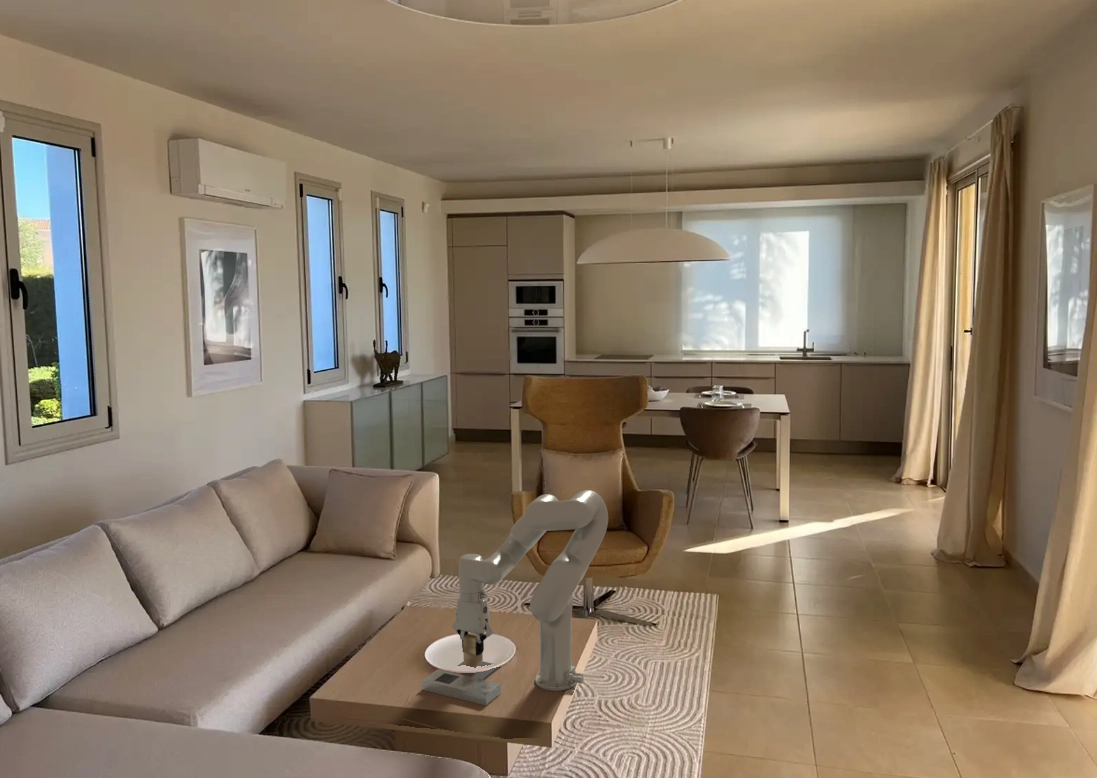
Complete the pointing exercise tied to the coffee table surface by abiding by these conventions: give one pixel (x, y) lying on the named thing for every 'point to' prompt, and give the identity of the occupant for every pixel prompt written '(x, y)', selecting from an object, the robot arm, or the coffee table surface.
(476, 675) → the charcoal mat
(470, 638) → the birch peg
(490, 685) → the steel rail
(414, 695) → the coffee table surface
